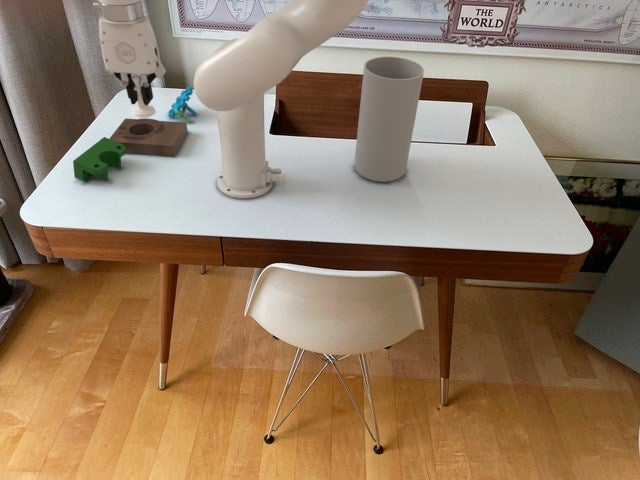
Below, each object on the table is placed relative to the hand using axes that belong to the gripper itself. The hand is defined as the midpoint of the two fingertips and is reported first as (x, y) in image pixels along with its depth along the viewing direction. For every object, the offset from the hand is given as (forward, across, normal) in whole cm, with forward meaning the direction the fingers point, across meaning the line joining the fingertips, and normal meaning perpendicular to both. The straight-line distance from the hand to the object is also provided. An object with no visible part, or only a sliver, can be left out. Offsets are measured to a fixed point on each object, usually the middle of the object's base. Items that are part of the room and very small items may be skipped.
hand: (141, 101), depth 104 cm
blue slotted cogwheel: (+17, 0, +26) cm, 31 cm away
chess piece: (+3, 0, 0) cm, 3 cm away
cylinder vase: (+17, +53, +5) cm, 56 cm away
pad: (+17, -5, +11) cm, 21 cm away
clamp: (+17, -11, -4) cm, 20 cm away
